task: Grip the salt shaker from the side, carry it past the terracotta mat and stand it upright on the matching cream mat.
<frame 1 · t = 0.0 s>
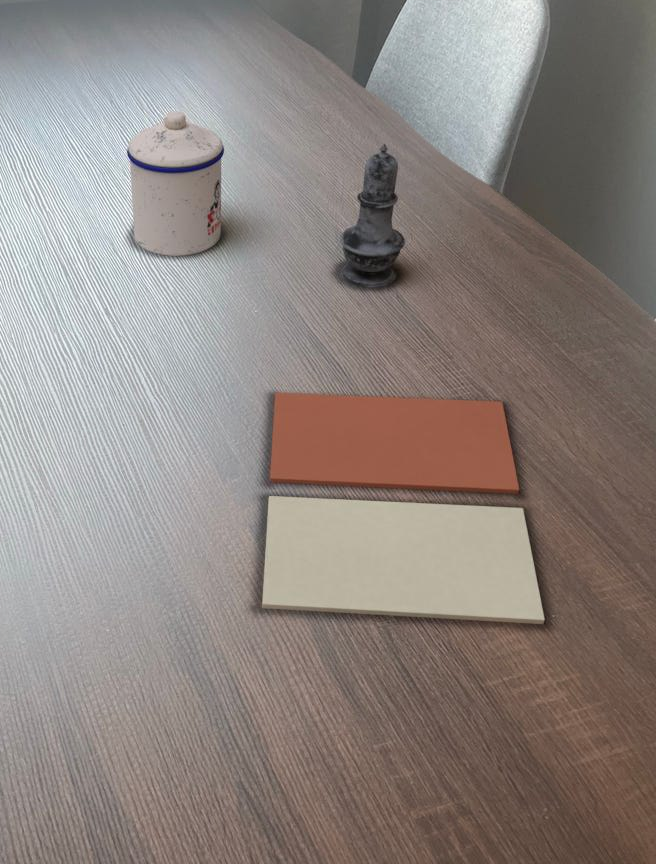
terracotta mat: (389, 444, 79), on the table
cream mat: (397, 560, 70), on the table
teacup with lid: (175, 232, 103), on the table
salt shaker: (367, 277, 96), on the table
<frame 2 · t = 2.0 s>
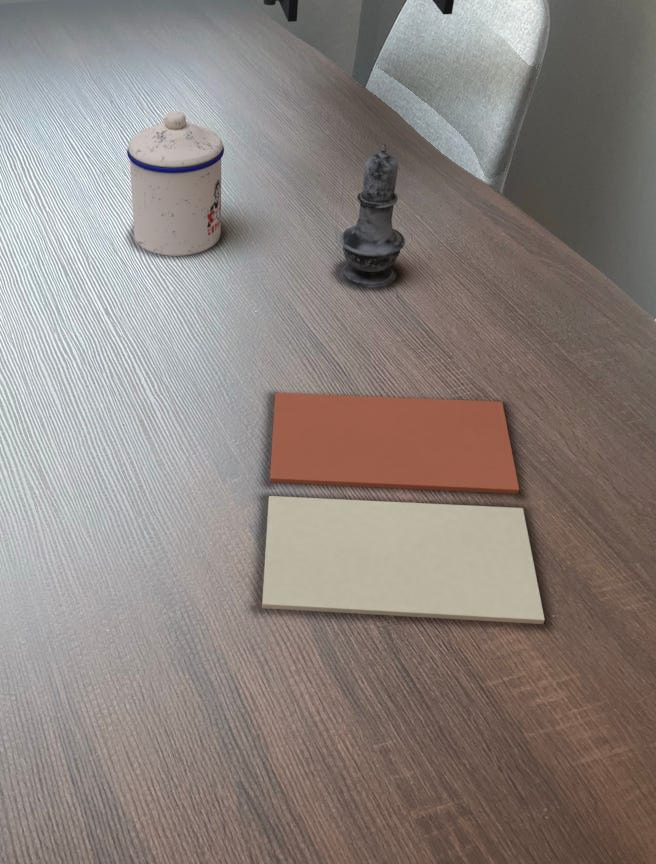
hand: (372, 0, 88), 20 cm above the table, tool horizontal, fingers open, 13 cm apart
nothing on the table moved.
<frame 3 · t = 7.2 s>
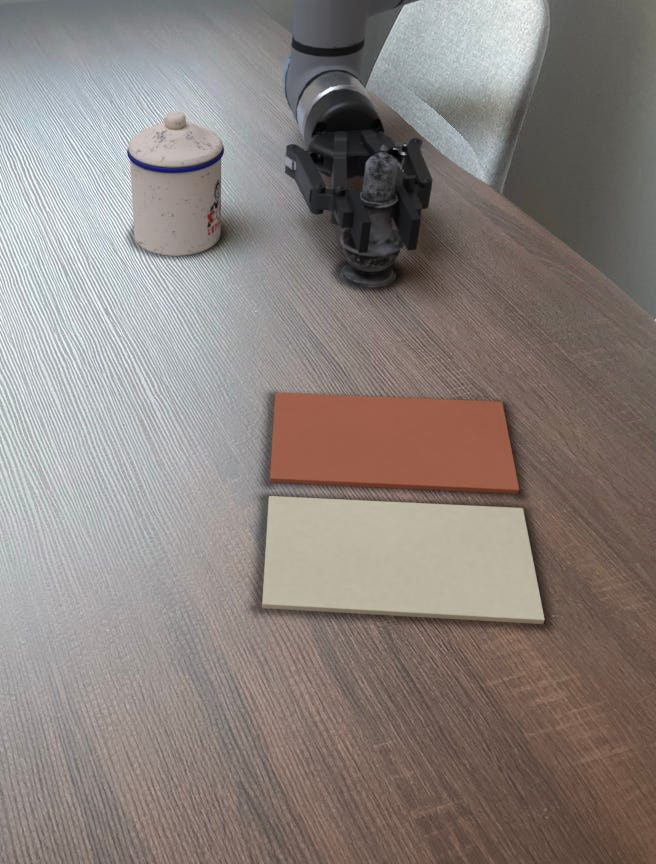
hand: (389, 236, 88), 6 cm above the table, tool horizontal, fingers closed on salt shaker, 4 cm apart
salt shaker: (367, 277, 96), on the table, touching gripper
everything else where it was.
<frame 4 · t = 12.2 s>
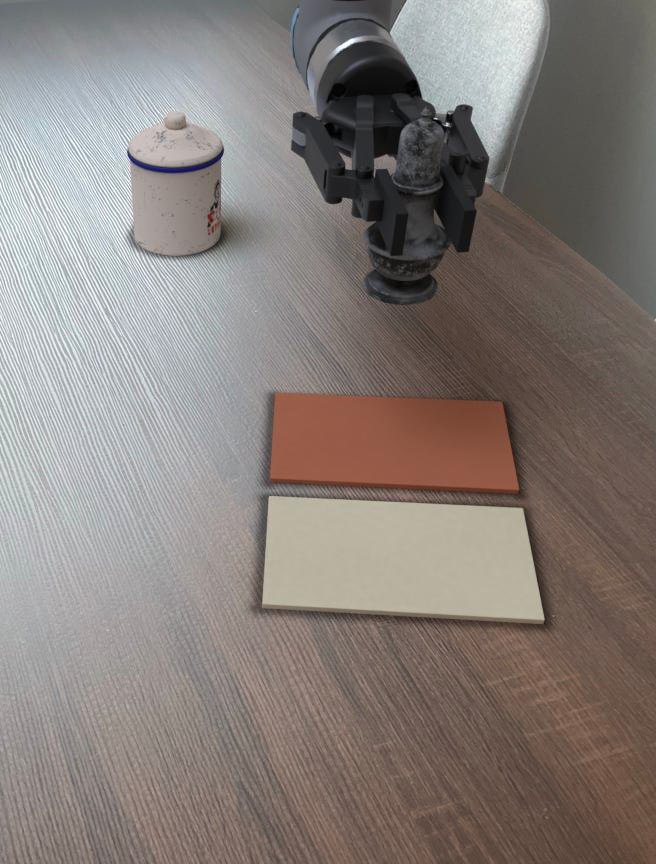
hand: (433, 233, 64), 18 cm above the table, tool horizontal, fingers closed on salt shaker, 3 cm apart
salt shaker: (399, 288, 73), point 11 cm above the table, touching gripper
everything else where it was.
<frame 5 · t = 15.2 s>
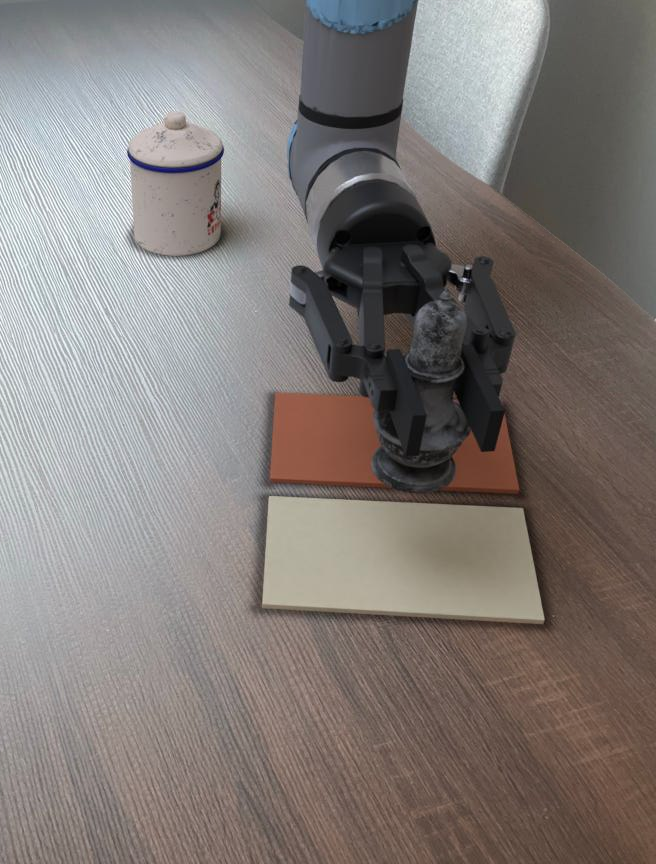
hand: (454, 433, 56), 14 cm above the table, tool horizontal, fingers closed on salt shaker, 3 cm apart
salt shaker: (412, 468, 64), point 8 cm above the table, touching gripper
everything else where it was.
when the fingers open (7 cm above the table, at t = 17.4 s): salt shaker stays where it is, resting on cream mat.
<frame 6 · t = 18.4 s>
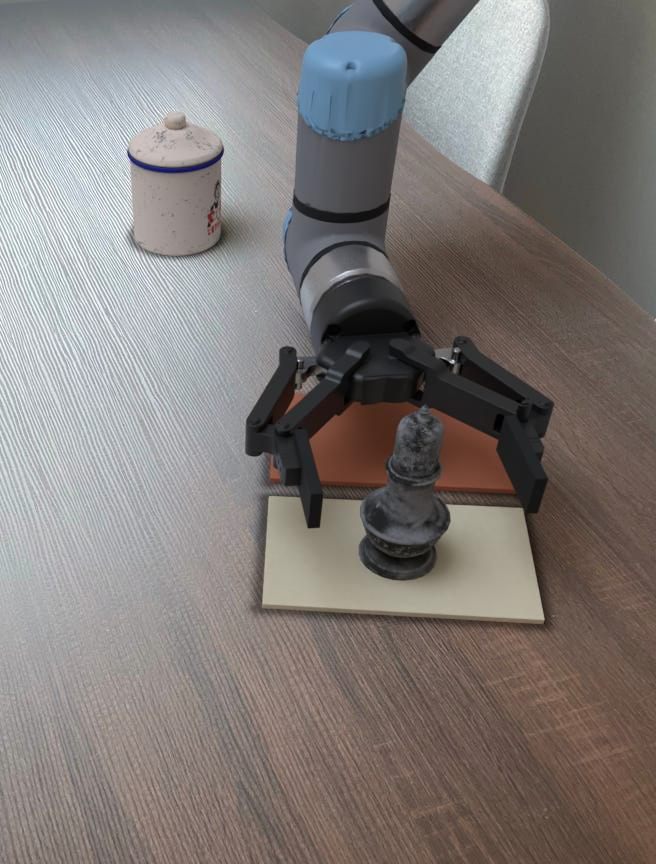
hand: (426, 504, 62), 8 cm above the table, tool horizontal, fingers open, 13 cm apart
salt shaker: (397, 555, 70), resting on cream mat
everything else where it was.
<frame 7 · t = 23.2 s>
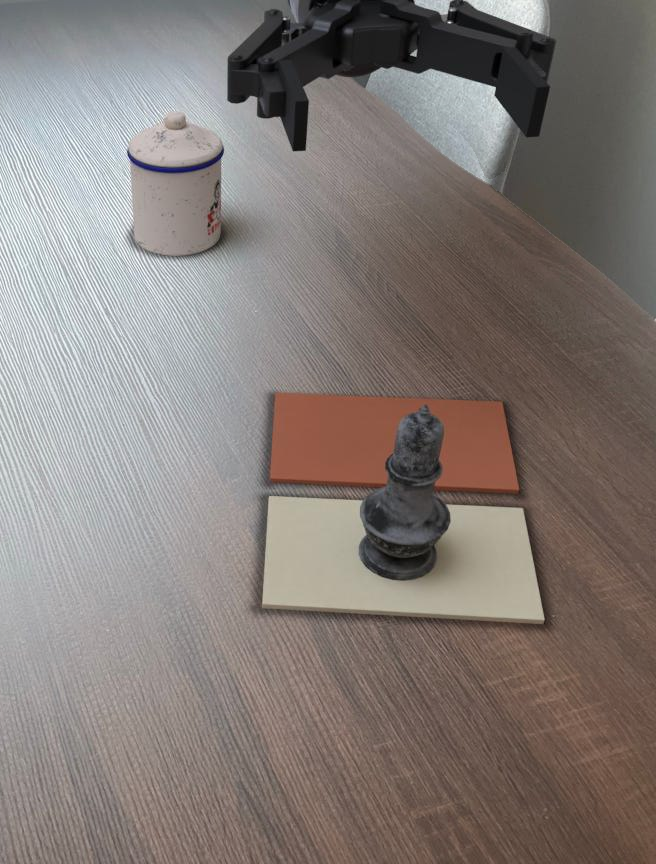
hand: (420, 119, 58), 25 cm above the table, tool horizontal, fingers open, 13 cm apart
nothing on the table moved.
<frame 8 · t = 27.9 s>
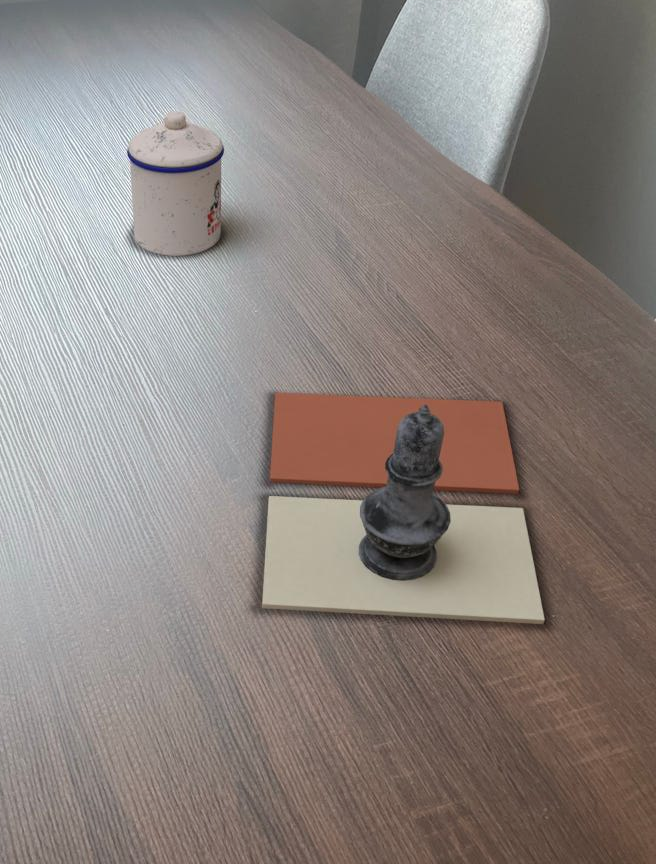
nothing on the table moved.
at the end: salt shaker inside the target area on the cream mat (0.1 cm from its centre), point 0.4 cm above the cream mat's base; salt shaker tilted 0°; salt shaker touching cream mat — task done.
